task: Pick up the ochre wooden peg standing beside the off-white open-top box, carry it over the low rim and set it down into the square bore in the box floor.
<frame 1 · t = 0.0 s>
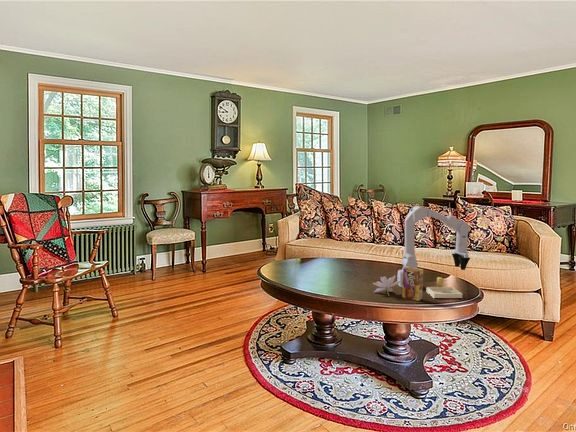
hand: (460, 268, 232), 10 cm above the table, tool pointing down, fingers open, 7 cm apart
water lily: (386, 294, 218), on the table
peg: (439, 289, 227), on the table
candy box: (412, 298, 210), on the table
bore box: (443, 295, 216), on the table
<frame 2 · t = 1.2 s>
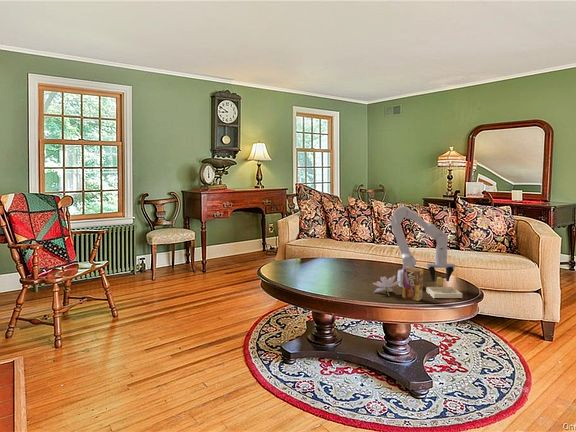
hand: (440, 280, 227), 4 cm above the table, tool pointing down, fingers open, 7 cm apart
nothing on the table moved.
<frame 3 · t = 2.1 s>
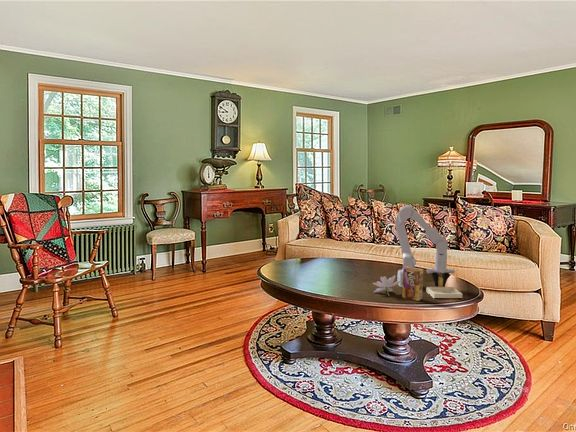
hand: (439, 286, 227), 1 cm above the table, tool pointing down, fingers closed on peg, 3 cm apart
peg: (439, 289, 227), on the table, touching gripper
everything else where it was.
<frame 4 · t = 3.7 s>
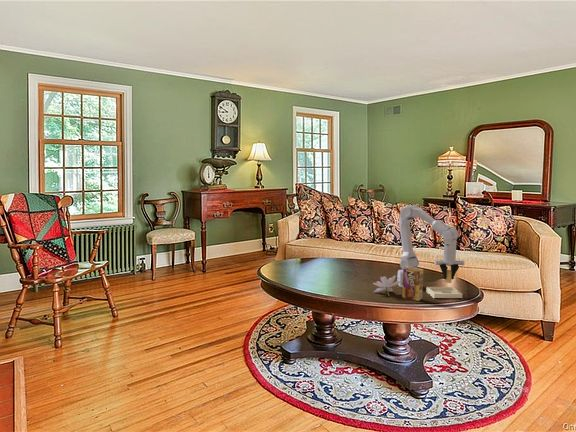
hand: (448, 278, 216), 8 cm above the table, tool pointing down, fingers closed on peg, 3 cm apart
peg: (448, 282, 216), point 7 cm above the table, touching gripper
everything else where it was.
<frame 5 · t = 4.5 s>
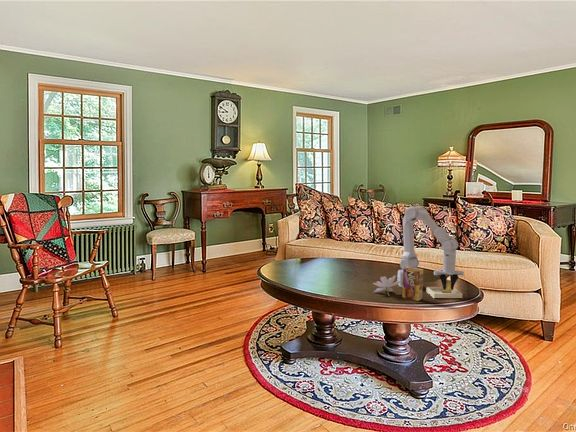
hand: (447, 289, 216), 3 cm above the table, tool pointing down, fingers closed on peg, 3 cm apart
peg: (447, 292, 216), point 1 cm above the table, touching gripper
everything else where it was.
when the fingers open (2 cm above the table, at t = 5.0 s): peg stays where it is, resting in bore box.
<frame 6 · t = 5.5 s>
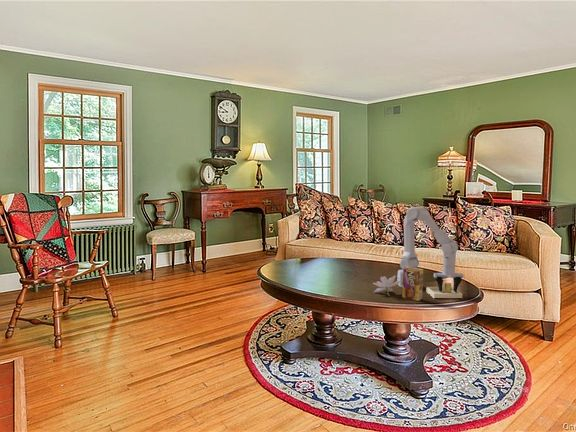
hand: (447, 291, 216), 2 cm above the table, tool pointing down, fingers open, 7 cm apart
peg: (447, 295, 217), resting in bore box
everything else where it was.
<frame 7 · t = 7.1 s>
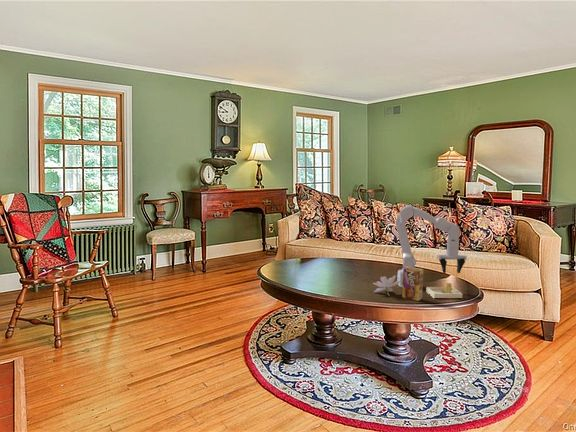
hand: (451, 272, 224), 9 cm above the table, tool pointing down, fingers open, 7 cm apart
nothing on the table moved.
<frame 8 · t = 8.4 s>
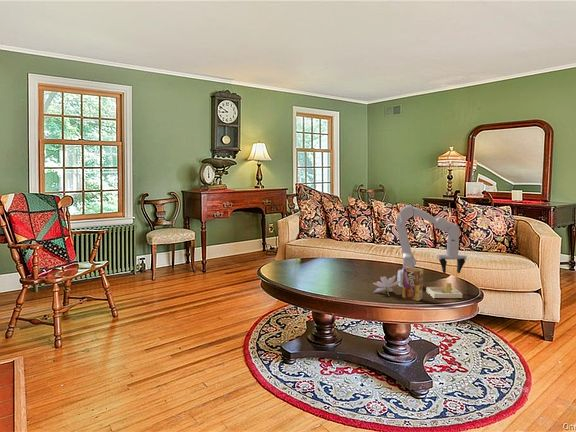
hand: (451, 272, 224), 9 cm above the table, tool pointing down, fingers open, 7 cm apart
nothing on the table moved.
at the end: peg 0.1 cm from the target spot on the bore box, point 0.0 cm above the bore box's base; peg tilted 0°; the gripper is holding nothing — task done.
